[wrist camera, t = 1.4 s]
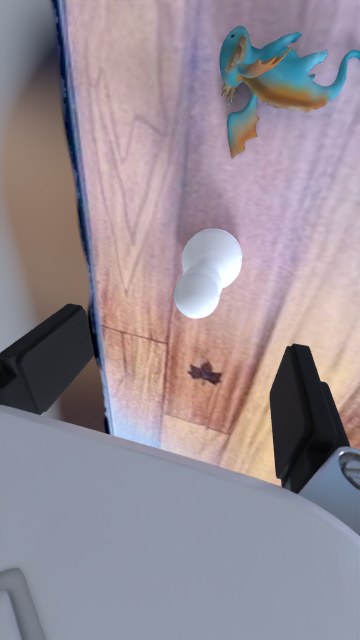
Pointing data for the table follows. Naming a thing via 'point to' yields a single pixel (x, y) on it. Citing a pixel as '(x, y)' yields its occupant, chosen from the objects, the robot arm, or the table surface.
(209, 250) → the chess pawn
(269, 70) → the dragon figurine
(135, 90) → the table surface
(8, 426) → the robot arm
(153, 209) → the table surface
